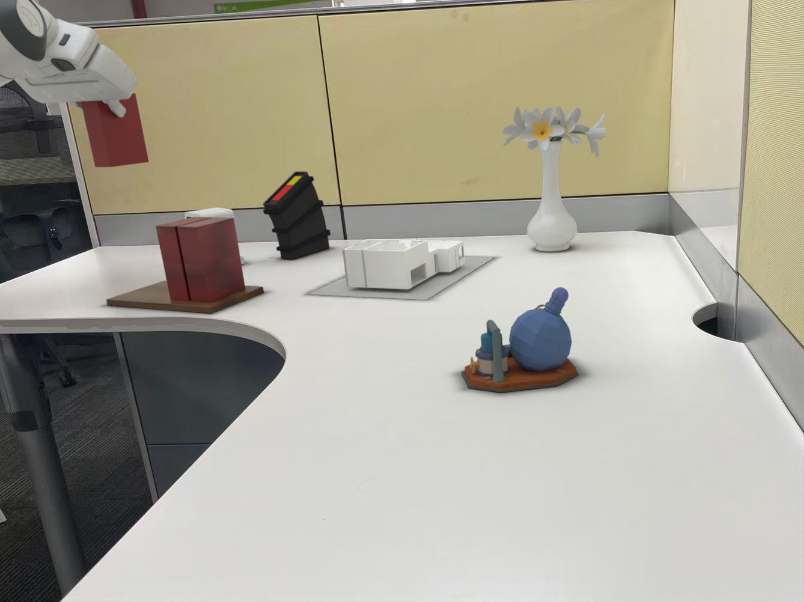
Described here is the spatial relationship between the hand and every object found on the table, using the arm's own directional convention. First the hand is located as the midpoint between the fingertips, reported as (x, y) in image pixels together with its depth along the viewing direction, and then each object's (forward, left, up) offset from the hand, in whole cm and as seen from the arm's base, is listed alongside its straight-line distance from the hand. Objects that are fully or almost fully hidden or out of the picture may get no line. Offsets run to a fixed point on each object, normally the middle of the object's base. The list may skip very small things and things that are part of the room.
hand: (110, 114), depth 130 cm
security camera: (+9, -9, -27) cm, 30 cm away
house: (+1, -47, -27) cm, 55 cm away
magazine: (+18, -21, -27) cm, 39 cm away
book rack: (-14, -16, -27) cm, 34 cm away
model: (-45, -73, -27) cm, 90 cm away
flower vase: (+22, -69, -27) cm, 78 cm away
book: (0, 0, -8) cm, 8 cm away
